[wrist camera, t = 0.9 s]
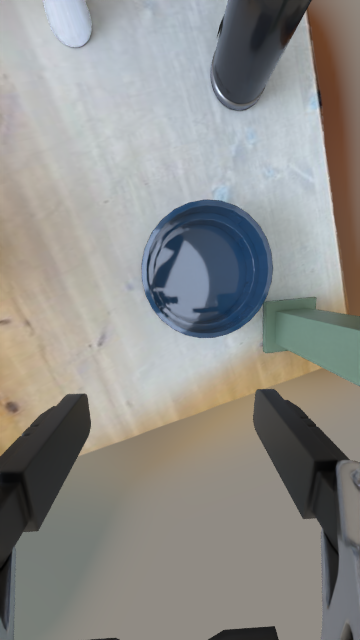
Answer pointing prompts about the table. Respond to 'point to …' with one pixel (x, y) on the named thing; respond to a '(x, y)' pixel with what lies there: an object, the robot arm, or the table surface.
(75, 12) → the beer glass
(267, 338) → the stand
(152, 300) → the bowl
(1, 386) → the table surface
